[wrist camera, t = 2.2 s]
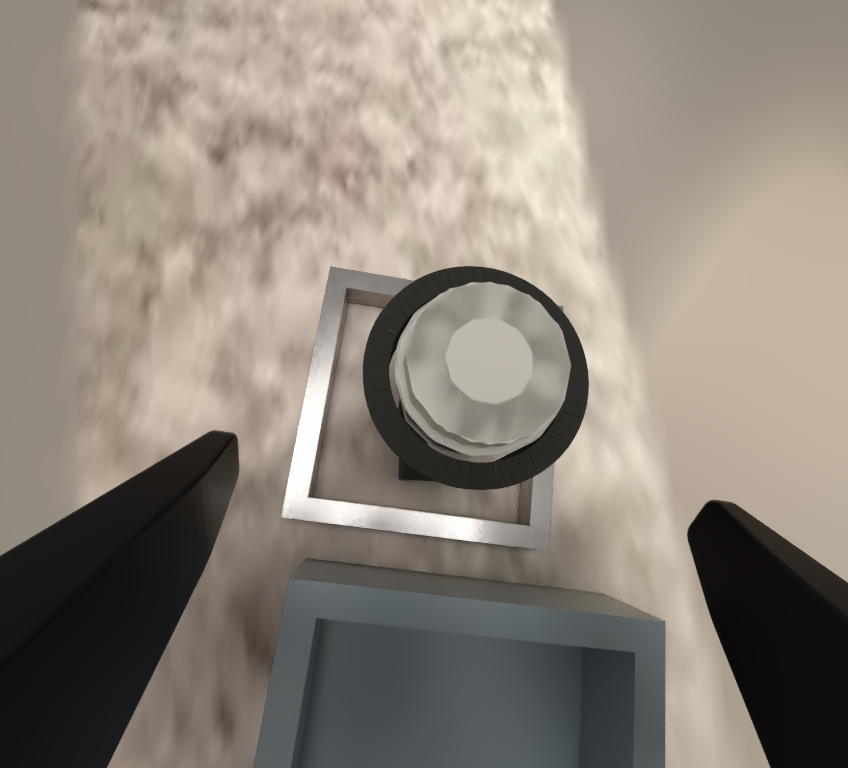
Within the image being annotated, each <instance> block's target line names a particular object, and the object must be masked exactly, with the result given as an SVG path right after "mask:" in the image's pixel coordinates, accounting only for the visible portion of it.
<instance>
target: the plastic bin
mask: <svg viewBox="0 0 848 768" xmlns="http://www.w3.org/2000/svg"><path fill="white" fill-rule="evenodd" d="M254 768H665V621H663V620H661V619H659V618H656V617H654V616H652V615H650V614H648V613H645V612H643V611H641V610H639V609H637V608H634V607H632V606H630V605H628V604H625V603H623V602H621V601H619V600H617V599H614V598H612V597H610V596H608V595H606V594H603V593H595V592H586V591H578V590H569V589H561V588H553V587H544V586H536V585H527V584H519V583H510V582H502V581H494V580H485V579H477V578H468V577H460V576H451V575H443V574H435V573H426V572H418V571H409V570H401V569H392V568H384V567H376V566H367V565H359V564H350V563H342V562H333V561H325V560H317V559H308V558H307V559H306V560H305V561H304V562H303V563H302V564H301V565H300V566H299V568H298V569H297V570H296V571H295V572H294V573H293V574H292V575H291V576H290V578H289V580H288V585H287V591H286V596H285V601H284V607H283V612H282V617H281V623H280V628H279V633H278V639H277V644H276V650H275V655H274V660H273V666H272V671H271V676H270V682H269V687H268V692H267V698H266V703H265V709H264V714H263V719H262V725H261V730H260V735H259V741H258V746H257V751H256V757H255V762H254Z"/></svg>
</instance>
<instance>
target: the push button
mask: <svg viewBox="0 0 848 768" xmlns="http://www.w3.org/2000/svg"><path fill="white" fill-rule="evenodd" d="M396 348H397V354H396V364H395V380H396V383H397V387H398V391H399V396H400V401H399V402H397V404H395V401H394V398H393V395H392V391H391V387H390V380H389V365H390V361H391V358H392V356H393V354H394V352H395V350H396ZM363 384H364V392H365V397H366V402H367V406H368V409H369V412H370V415H371V417H372V420H373V422H374V424H375V426H376V428H377V430H378V431H379V433H380V435H381V436H382V438H383V439H384V441H385V442H386V443H387V445H388V446H389V447H390V448H391V450H392V451H393V452H394V453H395V454H396V455H397V456H398V457H399V472H398V478H399V480H425V481H437V482H439V483H442V484H445V485H449V486H452V487H456V488H463V489H474V490H488V489H499V488H504V487H509V486H512V485H516V484H519V483H522V482H524V481H526V480H529V479H531V478H533V477H534V476H536V475H538V474H540V473H541V472H543V471H544V470H546V469H547V468H548V467H550V466H551V465H552V464H553V463H554V462H555V461H556V460H557V459H558V458H560V457H561V455H562V454H563V453H564V452H565V451H566V449H567V448H568V447H569V445H570V444H571V442H572V441H573V439H574V438H575V436H576V434H577V432H578V430H579V428H580V425H581V423H582V420H583V417H584V414H585V410H586V406H587V399H588V388H589V379H588V369H587V363H586V358H585V354H584V351H583V348H582V345H581V342H580V340H579V337H578V335H577V333H576V331H575V330H574V328H573V326H572V324H571V323H570V321H569V320H568V318H567V317H566V315H565V314H564V313H563V312H562V310H561V309H560V308H559V307H558V306H557V305H556V304H555V303H554V301H553V300H552V299H550V298H549V297H548V296H547V295H546V294H545V293H544V292H542V291H541V290H539V289H538V288H537V287H535V286H534V285H532V284H530V283H529V282H527V281H525V280H523V279H521V278H519V277H517V276H515V275H512V274H509V273H507V272H504V271H500V270H496V269H492V268H485V267H474V266H464V267H454V268H447V269H443V270H439V271H436V272H433V273H430V274H428V275H425V276H423V277H421V278H419V279H417V280H415V281H414V282H412V283H411V284H409V285H407V286H406V287H405V288H403V289H402V290H401V291H400V292H399V293H397V294H396V295H395V296H394V297H393V298H392V299H391V300H390V301H389V302H388V304H387V305H386V306H385V308H384V309H383V310H382V311H381V313H380V315H379V316H378V318H377V320H376V321H375V323H374V325H373V328H372V330H371V332H370V335H369V338H368V341H367V344H366V349H365V353H364V362H363ZM504 454H508V455H506V456H504V457H502V458H501V459H499V460H496V461H493V462H487V463H477V462H468V461H462V460H460V459H463V458H466V457H470V456H494V455H504Z"/></svg>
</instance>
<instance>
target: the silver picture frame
mask: <svg viewBox="0 0 848 768" xmlns="http://www.w3.org/2000/svg"><path fill="white" fill-rule="evenodd" d="M412 282H414V281H412V280H406V279H401V278H395V277H389V276H383V275H377V274H372V273H366V272H360V271H354V270H348V269H343V268H337V267H331V266H330V270H329V275H328V281H327V286H326V291H325V296H324V301H323V306H322V311H321V316H320V321H319V326H318V332H317V337H316V342H315V347H314V352H313V357H312V362H311V367H310V372H309V377H308V383H307V388H306V393H305V398H304V403H303V408H302V413H301V418H300V423H299V428H298V434H297V439H296V444H295V449H294V454H293V459H292V464H291V469H290V474H289V479H288V484H287V490H286V495H285V500H284V505H283V510H282V515H281V517H283V518H291V519H299V520H307V521H315V522H323V523H331V524H339V525H347V526H355V527H363V528H371V529H379V530H386V531H394V532H402V533H410V534H418V535H426V536H434V537H442V538H450V539H458V540H466V541H474V542H482V543H490V544H498V545H506V546H514V547H522V548H530V549H538V550H546V551H549V540H550V523H551V506H552V489H553V473H554V463H553V464H552V465H551V466H550V467H548V468H547V469H546V470H544V471H543V472H541V473H540V474H538V475H536V476H534V477H533V478H531V479H529V480H526V481H524V482H522V483H521V484H520V497H519V510H518V523H511V522H504V521H496V520H488V519H481V518H473V517H465V516H458V515H450V514H442V513H434V512H427V511H419V510H411V509H404V508H396V507H388V506H381V505H373V504H365V503H358V502H350V501H342V500H334V499H327V498H319V497H313V492H314V487H315V481H316V476H317V470H318V465H319V459H320V454H321V448H322V443H323V437H324V432H325V426H326V421H327V415H328V410H329V404H330V399H331V393H332V388H333V382H334V377H335V371H336V366H337V360H338V355H339V349H340V344H341V339H342V333H343V328H344V322H345V317H346V311H347V306H348V302H351V303H357V304H363V305H369V306H375V307H381V308H385V306H386V305H387V304H388V302H389V301H390V300H391V299H392V298H393V297H394V296H395V295H396V294H397V293H399V292H400V291H401V290H402V289H403V288H405V287H406V286H407V285H409V284H411V283H412ZM557 306H558V305H557ZM558 307H559V308H560V309H561V310H562V312H563V306H558Z"/></svg>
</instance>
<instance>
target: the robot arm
mask: <svg viewBox="0 0 848 768" xmlns="http://www.w3.org/2000/svg"><path fill="white" fill-rule="evenodd" d="M238 475H239V450H238V438H237V436H236V435H235V434H234V433H231V432H224V431H217V430H213V431H210V432H208V433H206V434H205V435H203V436H201V437H200V438H198V439H196V440H195V441H193V442H191V443H189V444H188V445H186V446H184V447H183V448H181V449H179V450H178V451H176V452H174V453H173V454H171V455H169V456H168V457H166V458H164V459H162V460H161V461H159V462H157V463H156V464H154V465H152V466H151V467H149V468H147V469H146V470H144V471H142V472H141V473H139V474H137V475H135V476H134V477H132V478H130V479H129V480H127V481H125V482H124V483H122V484H120V485H119V486H117V487H115V488H114V489H112V490H110V491H108V492H107V493H105V494H103V495H102V496H100V497H98V498H97V499H95V500H93V501H92V502H90V503H88V504H87V505H85V506H83V507H82V508H80V509H78V510H76V511H75V512H73V513H71V514H70V515H68V516H66V517H65V518H63V519H61V520H60V521H58V522H56V523H55V524H53V525H51V526H49V527H48V528H46V529H44V530H43V531H41V532H40V533H38V534H36V535H34V536H33V537H31V538H29V539H28V540H26V541H24V542H23V543H21V544H19V545H17V546H16V547H14V548H12V549H11V550H9V551H7V552H6V553H4V554H2V555H1V556H0V768H107V766H108V764H109V762H110V760H111V758H112V756H113V754H114V752H115V750H116V748H117V746H118V744H119V742H120V740H121V738H122V736H123V734H124V732H125V730H126V728H127V726H128V724H129V722H130V719H131V717H132V715H133V713H134V711H135V709H136V707H137V705H138V703H139V701H140V699H141V697H142V695H143V693H144V691H145V689H146V687H147V685H148V683H149V681H150V679H151V677H152V675H153V673H154V671H155V668H156V666H157V664H158V662H159V660H160V658H161V656H162V654H163V652H164V650H165V648H166V646H167V644H168V642H169V640H170V638H171V636H172V634H173V632H174V630H175V628H176V626H177V624H178V622H179V620H180V617H181V615H182V613H183V611H184V609H185V607H186V605H187V603H188V601H189V599H190V597H191V595H192V593H193V591H194V589H195V587H196V585H197V583H198V581H199V579H200V577H201V575H202V573H203V571H204V568H205V566H206V564H207V562H208V560H209V557H210V555H211V552H212V549H213V547H214V544H215V541H216V539H217V536H218V533H219V530H220V527H221V524H222V522H223V519H224V516H225V513H226V510H227V508H228V505H229V502H230V499H231V496H232V494H233V491H234V488H235V485H236V482H237V479H238ZM687 538H688V542H689V546H690V549H691V552H692V556H693V559H694V563H695V566H696V570H697V573H698V576H699V580H700V583H701V587H702V590H703V593H704V596H705V600H706V604H707V607H708V610H709V613H710V616H711V619H712V621H713V624H714V627H715V629H716V632H717V634H718V637H719V639H720V642H721V645H722V647H723V650H724V652H725V655H726V657H727V660H728V662H729V665H730V667H731V669H732V672H733V674H734V677H735V679H736V682H737V684H738V687H739V690H740V692H741V695H742V697H743V699H744V702H745V705H746V707H747V710H748V712H749V715H750V717H751V720H752V722H753V725H754V727H755V730H756V732H757V735H758V737H759V740H760V743H761V745H762V748H763V750H764V753H765V755H766V758H767V760H768V763H769V765H770V767H771V768H848V583H847V582H846V581H844V580H843V579H841V578H840V577H839V576H837V575H836V574H835V573H833V572H832V571H830V570H829V569H827V568H826V567H825V566H823V565H822V564H820V563H819V562H817V561H816V560H815V559H813V558H812V557H810V556H809V555H807V554H806V553H804V552H803V551H802V550H800V549H799V548H797V547H796V546H795V545H793V544H791V543H790V542H789V541H787V540H786V539H785V538H783V537H782V536H780V535H779V534H777V533H776V532H775V531H773V530H772V529H770V528H769V527H767V526H766V525H764V524H763V523H762V522H760V521H759V520H757V519H756V518H755V517H753V516H752V515H750V514H749V513H747V512H746V511H745V510H743V509H742V508H740V507H739V506H738V505H736V504H734V503H731V502H726V501H719V500H710V501H709V502H707V503H706V504H705V505H704V506H703V508H702V509H701V511H700V512H699V513H698V515H697V516H696V518H695V519H694V520H693V522H692V523H691V525H690V526H689V528H688V533H687Z"/></svg>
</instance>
